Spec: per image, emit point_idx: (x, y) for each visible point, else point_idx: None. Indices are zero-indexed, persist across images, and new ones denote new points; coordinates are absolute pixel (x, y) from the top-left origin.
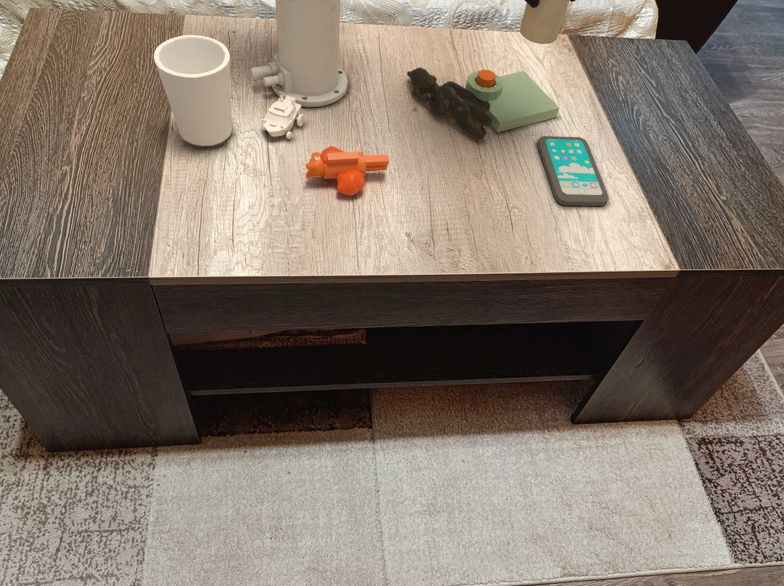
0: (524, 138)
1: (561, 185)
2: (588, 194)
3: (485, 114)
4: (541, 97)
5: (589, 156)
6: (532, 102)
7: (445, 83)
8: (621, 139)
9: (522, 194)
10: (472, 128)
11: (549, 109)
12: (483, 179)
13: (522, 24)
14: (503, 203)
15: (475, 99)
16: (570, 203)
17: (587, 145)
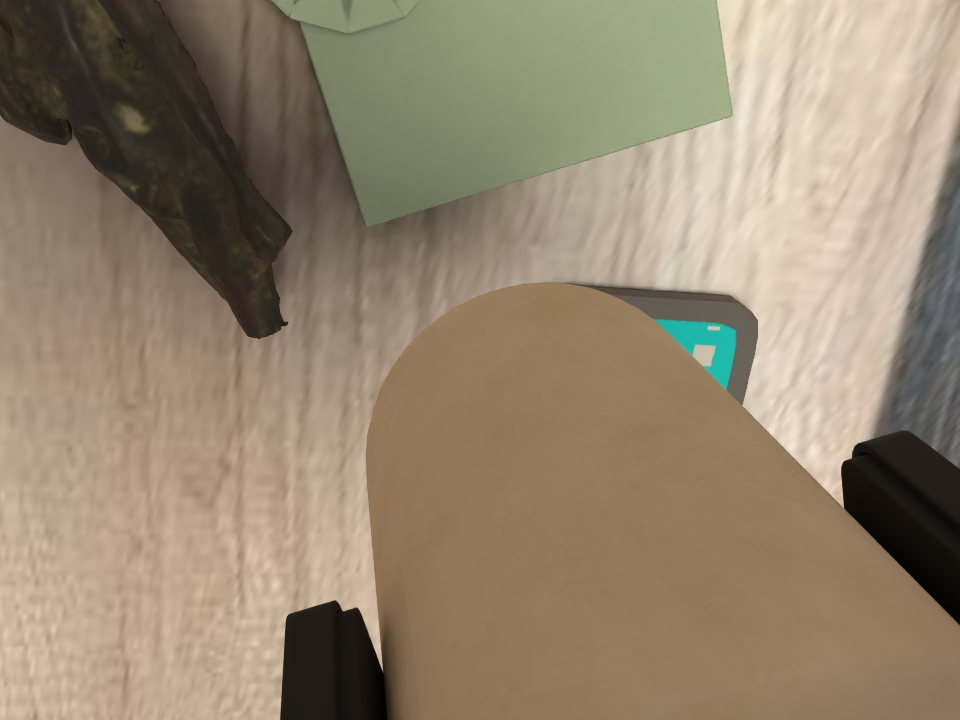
0: (489, 259)
1: None
2: None
3: (246, 303)
4: (673, 14)
5: None
6: (603, 60)
7: None
8: (934, 280)
9: (370, 582)
10: (200, 274)
11: (672, 128)
12: (224, 508)
13: (367, 487)
14: (280, 624)
15: (213, 159)
16: None
17: (748, 357)
